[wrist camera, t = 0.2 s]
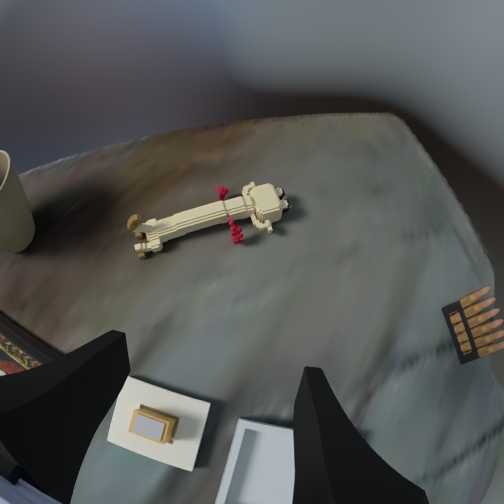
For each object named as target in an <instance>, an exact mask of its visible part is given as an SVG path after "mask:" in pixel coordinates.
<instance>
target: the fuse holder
mask: <svg viewBox="0 0 504 504" xmlns="http://www.w3.org/2000/svg"><path fill="white" fill-rule="evenodd" d="M210 407H211V403H210V402H206V401H203V400H199V399H196V398H192V397H189V396H186V395H183V394H179V393H176V392H173V391H170V390H167V389H164V388H161V387H158V386H155V385H152V384H150V383H147V382H144V381H141V380H139V379H136V378H133V377H131V376H128V377H127V380H126V382H125V384H124V386H123V388H122V390H121V392H120V393H119V396H118V399H117V403H116V407H115V410H114V414H113V418H112V422H111V426H110V429H109V433H108V438H107V441H110V442H112V443H114V444H116V445H119V446H121V447H124V448H126V449H128V450H131V451H133V452H136V453H138V454H141V455H144V456H146V457H149V458H152V459H155V460H157V461H160V462H163V463H166V464H169V465H172V466H175V467H178V468H182V469H185V470H188V471H192V470H193V469H194V465H195V462H196V458H197V454H198V451H199V447H200V443H201V440H202V436H203V432H204V429H205V425H206V421H207V418H208V414H209V410H210ZM142 408H148V409H150V410H153V411H156V412H159V413H162V414H165V415H168V416H171V417H174V418H177V423H176V426H175V430H174V434H173V437H172V439H171V440H169V441H168V442H166V443H165V444H164V445H163V444H160V443H158V442H155V441H152V440H149V439H147V438H144V437H141V436H139V435H136V434H134V433H131V432H129V427H130V423H131V419H132V416H133V412H134V410H135V409H142Z"/></svg>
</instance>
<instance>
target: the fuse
mask: <svg viewBox="0 0 504 504" xmlns="http://www.w3.org/2000/svg"><path fill="white" fill-rule="evenodd" d="M176 423H177V418H174V417H171V416H168V415H165V414H162V413H159V412H156V411H153V410H150V409H148V408H142V409H135V410H134V412H133V416H132V419H131V423H130V427H129V432H131V433H134V434H136V435H139V436H141V437H144V438H147V439H149V440H152V441H155V442H158V443H160V444H163V445H164V444H165V443H166V442H168V441H169V440H171V439H172V437H173V434H174V430H175V426H176Z"/></svg>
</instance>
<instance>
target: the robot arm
mask: <svg viewBox="0 0 504 504" xmlns="http://www.w3.org/2000/svg"><path fill="white" fill-rule="evenodd" d="M129 373H130V363H129V357H128V350H127V343H126V335H125V333H123V332H119V331H115V330H111V331H109V332H107V333H105V334H103V335H101V336H99V337H98V338H96V339H94V340H92V341H90V342H89V343H87V344H85V345H83V346H81V347H79V348H77V349H76V350H74V351H72V352H70V353H67V354H65V355H63V356H61V357H59V358H57V359H55V360H53V361H50V362H48V363H45V364H43V365H40V366H37V367H34V368H31V369H28V370H24V371H20V372H16V373H12V374H7V375H2V376H0V504H70V502H71V497H72V494H73V490H74V486H75V483H76V479H77V476H78V473H79V470H80V467H81V465H82V462H83V460H84V457H85V454H86V452H87V449H88V447H89V445H90V443H91V440H92V438H93V436H94V434H95V432H96V430H97V428H98V427H99V425H100V423H101V422H102V420H103V419H104V417H105V415H106V414H107V412H108V411H109V409H110V408H111V406H112V404H113V403H114V401H115V400H116V398H117V397H118V395H119V393H120V392H121V390H122V388H123V386H124V384H125V382H126V380H127V377H128V375H129ZM293 440H294V466H295V478H294V490H293V500H292V504H429V502H428V498H427V496H426V493H425V491H424V490H423V489H421V488H420V487H418V486H417V485H415V484H414V483H412V482H410V481H409V480H407V479H406V478H405V477H403V476H402V475H401V474H399V473H398V472H397V471H396V470H394V469H393V468H392V467H391V466H390V465H388V464H387V463H386V462H385V461H384V460H383V459H382V458H381V457H380V456H379V455H378V454H377V453H376V452H375V451H374V450H373V449H372V448H371V447H370V446H369V445H368V443H367V442H366V441H365V440H364V439H363V437H362V436H361V435H360V434H359V432H358V431H357V430H356V428H355V427H354V426H353V424H352V423H351V421H350V420H349V418H348V417H347V415H346V414H345V412H344V410H343V409H342V407H341V405H340V404H339V402H338V400H337V398H336V397H335V395H334V393H333V391H332V389H331V387H330V385H329V383H328V381H327V379H326V377H325V375H324V372H323V370H322V369H321V368H316V367H306V366H305V368H304V372H303V375H302V379H301V382H300V386H299V389H298V393H297V396H296V399H295V404H294V417H293Z"/></svg>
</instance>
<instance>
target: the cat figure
mask: <svg viewBox="0 0 504 504" xmlns="http://www.w3.org/2000/svg"><path fill="white" fill-rule="evenodd" d="M217 190H218V195H219V199H220V201H218V202H214V203H211V204H207V205H204V206H200V207H197V208H194V209H190V210H187V211H184V212H180V213H177V214H174V216H171V217H168V218H165V219H161V220H158V221H157V220H156V219H151V220H148V221H147V223H144V224H142V223H143V222H142V217H141V215H140V214H139V215H138V214H135V215H132V216H131V217H130V219H129V221H128V224H127V225H128V230H129V231H130V232H131V231H132V232H134V233H135V236H136V238H137V239H140V238H143V232H144V233H146V237H147V240H148V241H149V243H146V244H145V243H143V244H136V245H135V250H136V252H137V253H138V256H139V258H140V259H144V258H146V252H148V251H153V252H157V251H161V249H162V248H163V245H162V243H163V242H166V241H167V240H169V239H173V238H176V237H179V236H183V235H186V233H189V232H192V231H196V230H199V229H202V228H206V227H209V226H213V225H216V224H219V223H222V224H223V223H226V222H229V225H230V230H231V234H232V235H231V237H232V240H233V242H234V244H237V243H238V241H240V242H241V241H244V237H243V234H241V233H240V232H242V229H241V226H238V225H236V227H235V226H234V222H233V220H237V219H240V218H241V219H244V218H248V217H251V219H252V222H253V225H254V226H256V227H257V229H260V230H263V229H267V231H268V233H272V232H273V229H272V227H271V225H272V222H276V221H279V219H281V217H282V213H284V212H288V210H289V208H291V205H290V204H289V202H288V201H287V200H284V199H287V196H286V197H283V196H284V195H285V193H284V191H283V189H281V188H279V187H276V188H274V185H271V184H269V183H268V184H264V185H260V186H256V187H255V184H254V182H251V183H250V185H247V186H244V188H243V191H242V195H243V197H241V196H240V197H236V198H232V199H229V200H225V201H222V200H224V199H223V198H225V195H227V194H228V193H229V191H228V188H227V187H225V186H223V187H219V186H217ZM249 190H251V191H250V192H249ZM248 192H249V193H250V196H249V193H248Z"/></svg>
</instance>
